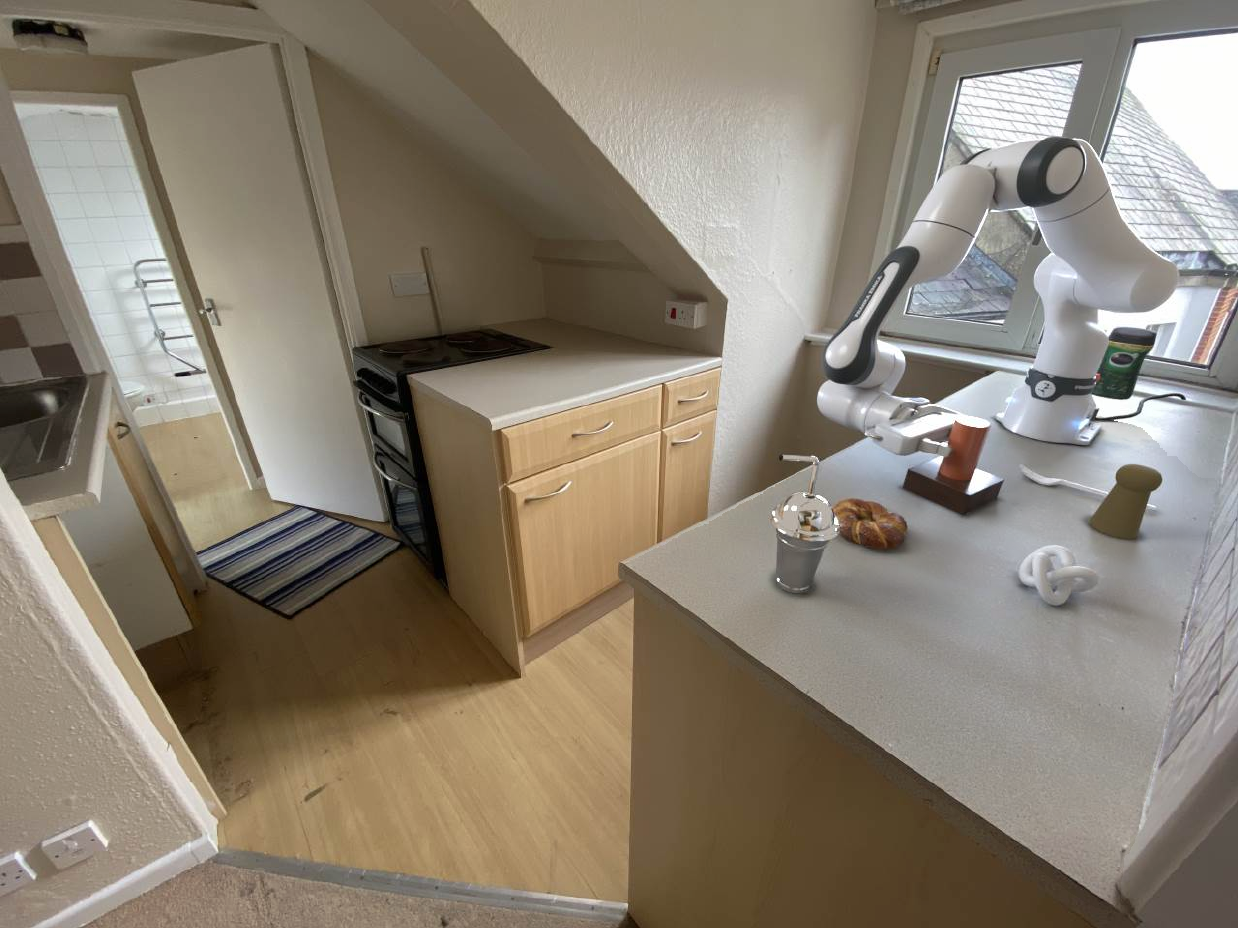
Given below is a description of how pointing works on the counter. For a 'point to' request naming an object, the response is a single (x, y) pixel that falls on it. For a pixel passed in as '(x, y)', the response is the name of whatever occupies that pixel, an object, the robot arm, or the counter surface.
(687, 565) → the counter surface
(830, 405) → the robot arm
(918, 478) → the stand
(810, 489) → the cup with straw
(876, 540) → the pretzel
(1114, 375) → the coffee jar
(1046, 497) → the counter surface
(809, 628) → the counter surface
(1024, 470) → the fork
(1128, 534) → the cork
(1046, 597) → the knot
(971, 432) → the canister
